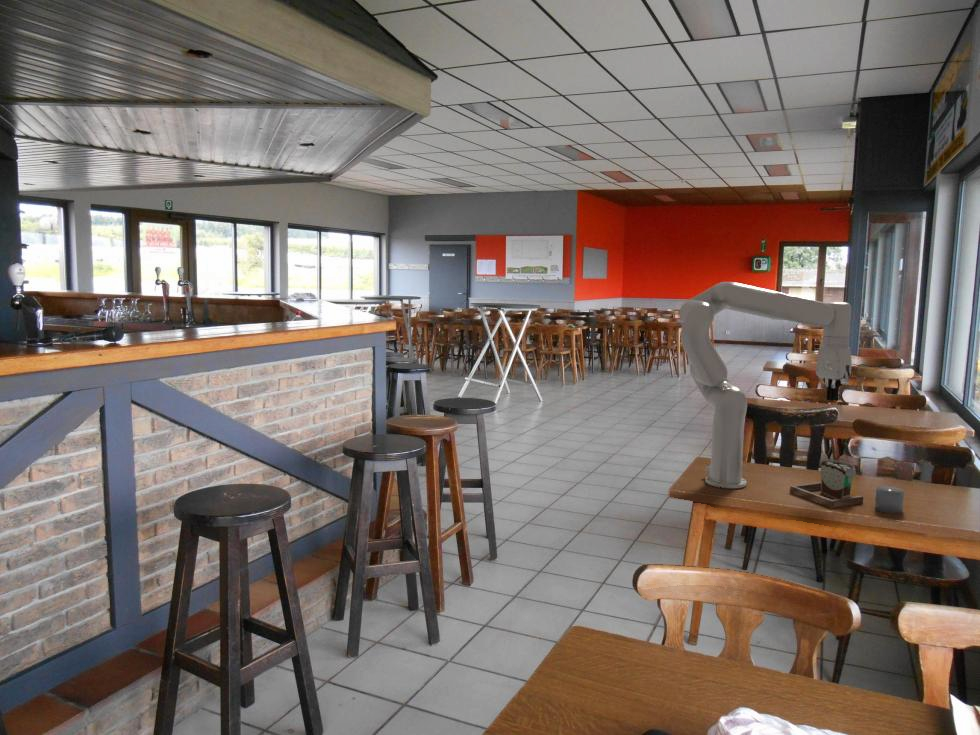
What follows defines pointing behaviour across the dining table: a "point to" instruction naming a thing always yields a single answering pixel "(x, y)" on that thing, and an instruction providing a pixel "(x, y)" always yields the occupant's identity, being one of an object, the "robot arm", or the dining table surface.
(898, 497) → the grey glossy rounded part
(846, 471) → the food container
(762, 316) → the robot arm
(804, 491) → the frame
